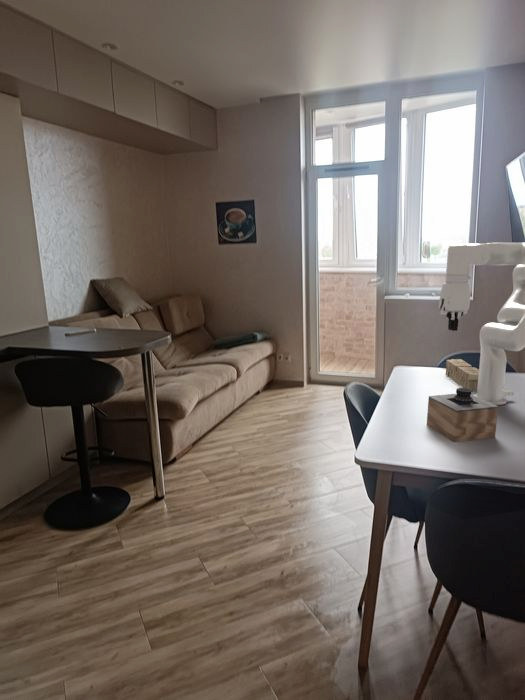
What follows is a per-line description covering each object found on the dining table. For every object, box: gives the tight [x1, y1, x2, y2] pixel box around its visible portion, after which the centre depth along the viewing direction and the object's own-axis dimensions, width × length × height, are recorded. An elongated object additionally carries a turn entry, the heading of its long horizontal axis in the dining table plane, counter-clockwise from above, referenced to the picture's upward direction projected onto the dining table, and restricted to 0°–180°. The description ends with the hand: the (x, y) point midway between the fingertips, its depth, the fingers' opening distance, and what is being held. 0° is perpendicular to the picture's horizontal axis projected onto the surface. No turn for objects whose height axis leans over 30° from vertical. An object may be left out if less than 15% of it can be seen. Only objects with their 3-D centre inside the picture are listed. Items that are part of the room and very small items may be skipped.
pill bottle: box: [453, 387, 473, 405], centre depth 163 cm, size 6×6×11 cm
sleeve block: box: [426, 393, 499, 443], centre depth 163 cm, size 15×15×11 cm
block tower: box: [445, 358, 479, 392], centre depth 221 cm, size 8×8×29 cm
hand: (452, 330), depth 178 cm, fingers closed
